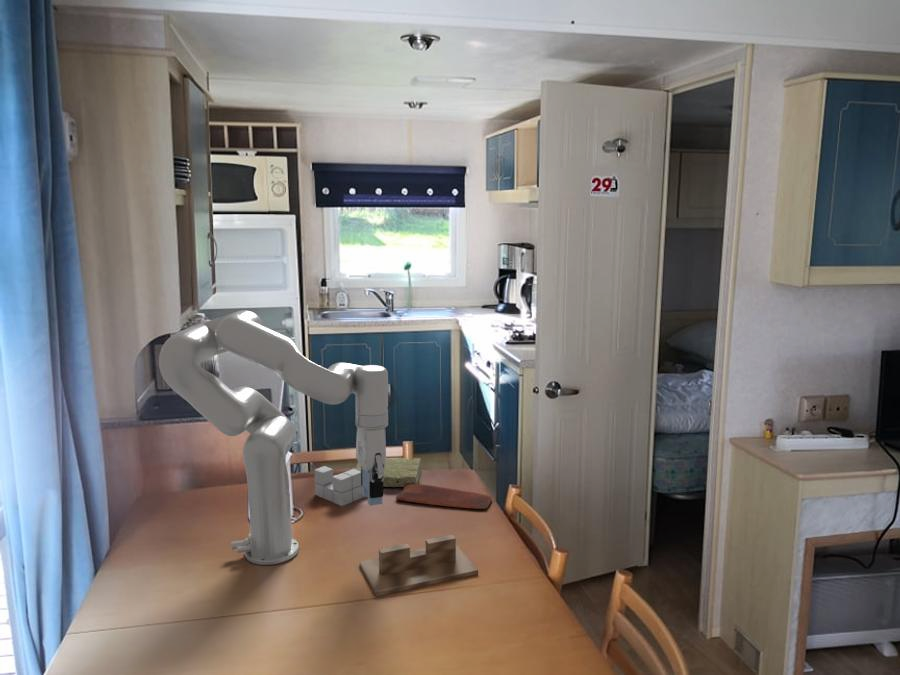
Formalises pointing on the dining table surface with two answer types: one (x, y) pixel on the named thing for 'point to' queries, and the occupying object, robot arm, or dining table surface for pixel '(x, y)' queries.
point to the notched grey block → (365, 487)
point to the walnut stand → (417, 566)
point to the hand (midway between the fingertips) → (372, 490)
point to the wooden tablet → (443, 496)
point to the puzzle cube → (338, 485)
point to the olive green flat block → (400, 471)
